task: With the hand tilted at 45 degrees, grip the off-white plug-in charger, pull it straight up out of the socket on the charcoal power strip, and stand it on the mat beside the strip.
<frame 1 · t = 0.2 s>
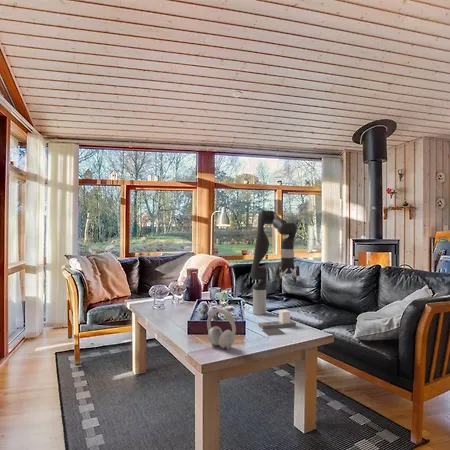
hand: (287, 283, 215), 29 cm above the table, tool pointing down, fingers open, 8 cm apart
mat: (273, 333, 213), on the table
power strip: (277, 327, 225), on the table
charger: (284, 325, 226), point 1 cm above the table, touching power strip
headphones: (220, 347, 189), on the table
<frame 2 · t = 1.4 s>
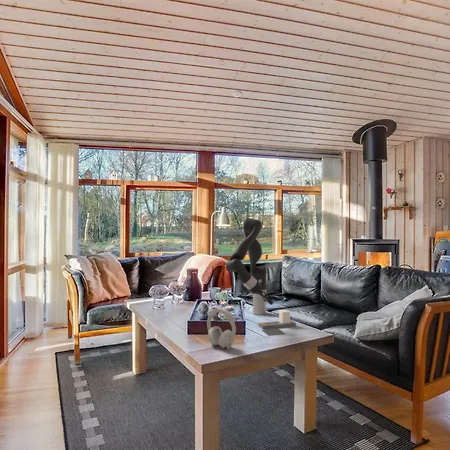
hand: (269, 302, 223), 16 cm above the table, tool tilted 45°, fingers open, 8 cm apart
nothing on the table moved.
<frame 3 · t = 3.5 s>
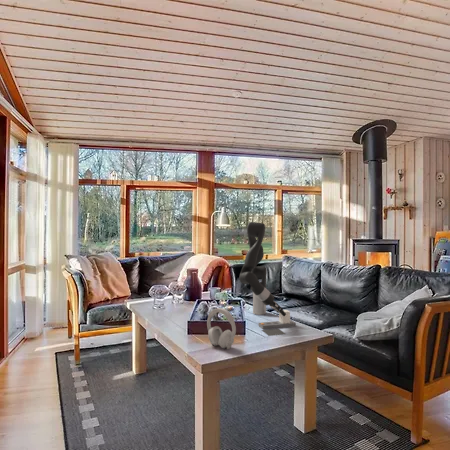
hand: (282, 313, 225), 8 cm above the table, tool tilted 45°, fingers open, 8 cm apart
nothing on the table moved.
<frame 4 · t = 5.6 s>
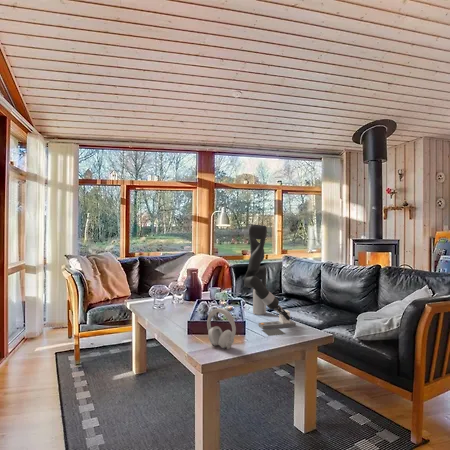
hand: (287, 317, 227), 5 cm above the table, tool tilted 45°, fingers closed on charger, 5 cm apart
charger: (284, 325, 226), point 1 cm above the table, touching gripper, power strip
everything else where it was.
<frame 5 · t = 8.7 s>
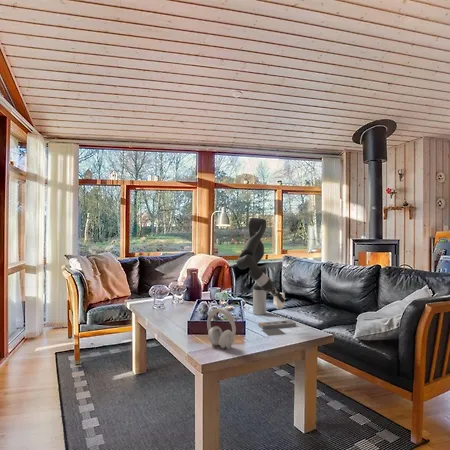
hand: (281, 300, 218), 18 cm above the table, tool tilted 45°, fingers closed on charger, 5 cm apart
charger: (278, 308, 218), point 13 cm above the table, touching gripper
everything else where it was.
when the fingers open (6 cm above the table, at t = 12.1 s): charger drops 1 cm, resting on mat.
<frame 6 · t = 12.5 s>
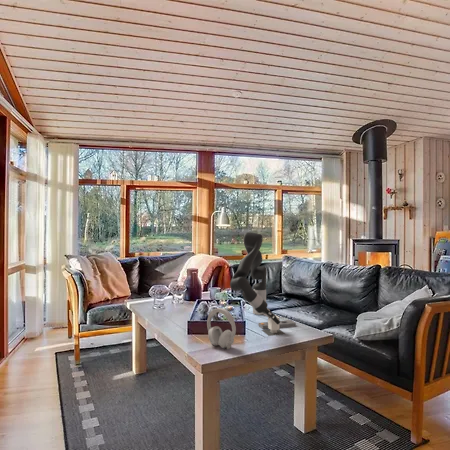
hand: (275, 321, 213), 7 cm above the table, tool tilted 45°, fingers open, 8 cm apart
charger: (273, 332, 213), point 1 cm above the table, touching mat
everything else where it was.
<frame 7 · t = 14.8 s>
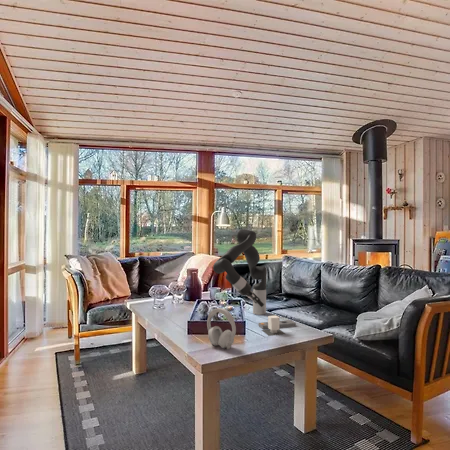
hand: (259, 304, 211), 17 cm above the table, tool tilted 45°, fingers open, 8 cm apart
nothing on the table moved.
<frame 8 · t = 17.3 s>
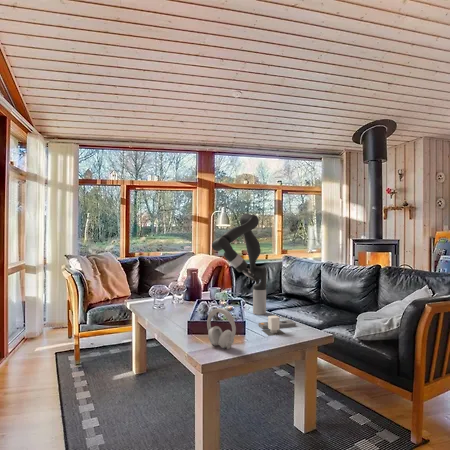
hand: (255, 280, 225), 29 cm above the table, tool tilted 45°, fingers open, 8 cm apart
nothing on the table moved.
at the end: charger inside the target area on the mat (0.0 cm from its centre), point 0.6 cm above the mat's base; charger tilted 0°; the gripper is holding nothing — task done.
